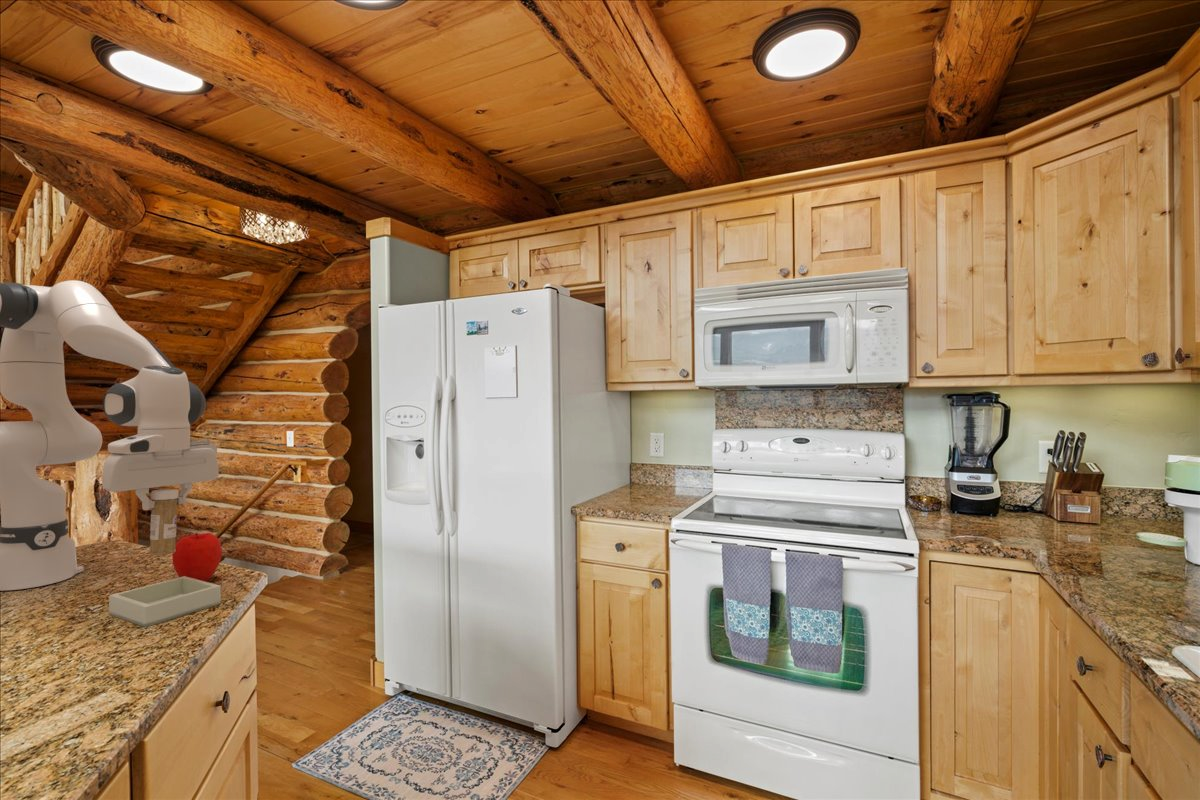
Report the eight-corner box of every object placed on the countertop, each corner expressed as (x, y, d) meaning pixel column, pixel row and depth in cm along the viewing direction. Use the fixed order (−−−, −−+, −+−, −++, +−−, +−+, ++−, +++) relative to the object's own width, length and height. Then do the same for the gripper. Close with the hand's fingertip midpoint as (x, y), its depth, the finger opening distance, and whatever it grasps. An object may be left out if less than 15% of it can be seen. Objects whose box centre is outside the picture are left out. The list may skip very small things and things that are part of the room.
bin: (109, 614, 115) (109, 595, 115) (184, 593, 128) (184, 576, 128) (145, 627, 109) (145, 607, 109) (220, 604, 121) (220, 585, 121)
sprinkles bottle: (176, 554, 117) (179, 490, 117) (148, 557, 114) (151, 491, 115) (175, 550, 120) (178, 487, 121) (148, 553, 118) (151, 489, 118)
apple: (204, 573, 142) (204, 526, 142) (231, 578, 139) (232, 529, 139) (162, 585, 133) (162, 534, 133) (190, 591, 129) (190, 538, 129)
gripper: (208, 438, 129) (208, 498, 129) (97, 444, 110) (97, 514, 110) (224, 439, 126) (224, 500, 126) (113, 445, 107) (113, 517, 107)
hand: (164, 507), depth 118 cm, fingers closed on sprinkles bottle, 4 cm apart
